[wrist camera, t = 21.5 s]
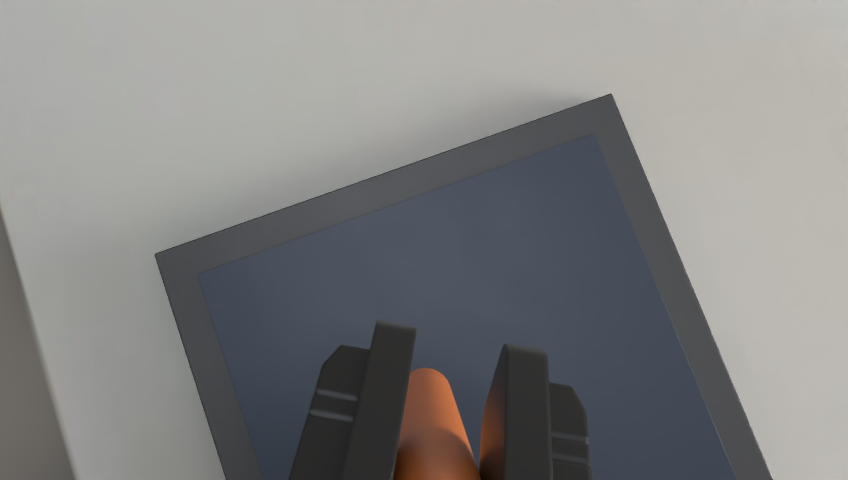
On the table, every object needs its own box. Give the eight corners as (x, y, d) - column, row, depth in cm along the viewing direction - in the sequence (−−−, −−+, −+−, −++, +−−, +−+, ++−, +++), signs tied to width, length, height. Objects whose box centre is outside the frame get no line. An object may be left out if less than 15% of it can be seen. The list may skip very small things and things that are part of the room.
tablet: (302, 695, 28) (298, 708, 27) (162, 257, 31) (152, 253, 30) (773, 504, 30) (787, 510, 29) (605, 100, 32) (612, 92, 31)
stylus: (408, 428, 22) (397, 674, 8) (391, 377, 22) (353, 538, 8) (458, 410, 22) (531, 626, 8) (441, 360, 22) (484, 491, 8)
